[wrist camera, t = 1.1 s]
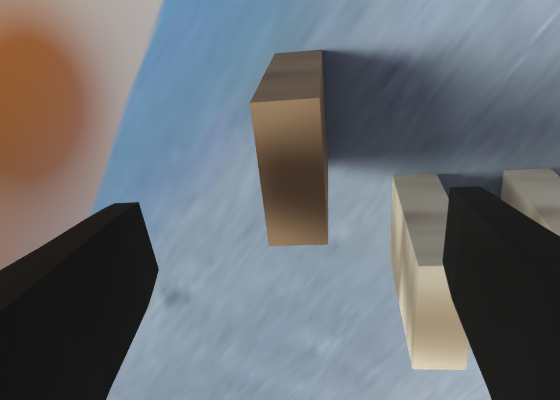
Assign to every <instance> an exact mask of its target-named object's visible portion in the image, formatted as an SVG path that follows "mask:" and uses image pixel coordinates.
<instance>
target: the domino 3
mask: <svg viewBox="0 0 560 400" xmlns="http://www.w3.org/2000/svg"><path fill="white" fill-rule="evenodd" d="M500 199H501V200H503V201H504V202H506V203H507V204H509V205H511V206H512V207H514V208H515V209H517V210H518V211H520V212H521V213H523V214H525V215H526V216H528V217H529V218H531V219H532V220H534V221H536V222H537V223H539V224H541V225H542V226H544V227H545V228H547V229H549V230H550V231H552V232H554V233H555V234H557V235H559V236H560V177H559V176H558V175H557V174H556V173H555V172H554V171H553V170H552V169H551V168H540V169H519V170H504V175H503V181H502V187H501V194H500Z"/></svg>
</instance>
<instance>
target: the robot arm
mask: <svg viewBox="0 0 560 400" xmlns="http://www.w3.org/2000/svg"><path fill="white" fill-rule="evenodd" d="M442 262H443V266H444V271H445V275H446V279H447V283H448V287H449V291H450V294H451V298H452V301H453V304H454V306H455V309H456V312H457V314H458V317H459V319H460V322H461V324H462V327H463V329H464V332H465V334H466V336H467V339H468V341H469V344H470V346H471V349H472V351H473V354H474V356H475V358H476V361H477V363H478V366H479V368H480V371H481V373H482V376H483V378H484V380H485V383H486V385H487V388H488V390H489V393H490V396H491V399H492V400H560V236H559V235H557V234H555V233H554V232H552V231H550V230H549V229H547V228H545V227H544V226H542V225H541V224H539V223H537V222H536V221H534V220H532V219H531V218H529V217H528V216H526V215H525V214H523V213H521V212H520V211H518V210H517V209H515V208H514V207H512V206H511V205H509V204H507V203H506V202H504V201H503V200H501V199H500V198H498V197H496V196H495V195H493V194H492V193H490V192H488V191H487V190H485V189H483V188H481V187H479V186H478V187H457V188H450V193H449V203H448V212H447V222H446V231H445V241H444V250H443V260H442ZM158 270H159V269H158V265H157V262H156V259H155V255H154V252H153V249H152V245H151V242H150V239H149V235H148V232H147V228H146V225H145V222H144V218H143V215H142V212H141V208H140V205H139V202H135V203H115V204H112V205H110V206H108V207H106V208H104V209H102V210H100V211H99V212H97V213H95V214H93V215H92V216H90V217H88V218H87V219H85V220H83V221H82V222H80V223H79V224H77V225H76V226H74V227H72V228H70V229H69V230H67V231H66V232H64V233H62V234H61V235H59V236H58V237H56V238H54V239H53V240H51V241H50V242H48V243H47V244H45V245H43V246H41V247H40V248H38V249H36V250H35V251H33V252H31V253H29V254H28V255H26V256H24V257H22V258H21V259H19V260H17V261H16V262H14V263H12V264H10V265H9V266H7V267H5V268H3V269H2V270H0V400H106V398H107V396H108V393H109V391H110V389H111V386H112V384H113V382H114V380H115V378H116V375H117V373H118V371H119V369H120V367H121V365H122V362H123V360H124V358H125V356H126V354H127V352H128V349H129V347H130V345H131V343H132V341H133V339H134V337H135V334H136V332H137V330H138V328H139V326H140V323H141V321H142V319H143V317H144V314H145V312H146V310H147V307H148V305H149V302H150V299H151V295H152V292H153V289H154V285H155V282H156V278H157V274H158Z"/></svg>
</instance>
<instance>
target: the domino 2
mask: <svg viewBox="0 0 560 400" xmlns="http://www.w3.org/2000/svg"><path fill="white" fill-rule="evenodd" d="M448 203H449V198H448V196H447V194H446V192H445V190H444V188H443V186H442V184H441V182H440V180H439V178H438V176H437V174H436V173H435V174H414V175H393V180H392V223H391V265H392V270H393V275H394V280H395V285H396V290H397V295H398V300H399V305H400V310H401V315H402V320H403V325H404V330H405V335H406V340H407V345H408V350H409V355H410V360H411V365H412V369H456V370H466V365H467V358H468V351H469V341H468V339H467V336H466V334H465V332H464V329H463V327H462V324H461V322H460V319H459V317H458V314H457V312H456V309H455V306H454V304H453V301H452V298H451V294H450V291H449V287H448V283H447V279H446V275H445V271H444V266H443V262H442V260H443V250H444V241H445V231H446V222H447V212H448Z"/></svg>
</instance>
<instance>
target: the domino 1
mask: <svg viewBox="0 0 560 400" xmlns="http://www.w3.org/2000/svg"><path fill="white" fill-rule="evenodd" d="M250 107H251V115H252V122H253V130H254V137H255V145H256V152H257V159H258V167H259V174H260V182H261V189H262V197H263V204H264V212H265V219H266V227H267V234H268V242H269V246H289V245H323V244H328V153H327V134H326V114H325V95H324V76H323V57H322V50H314V51H302V52H290V53H278V54H274V56H273V58H272V60H271V62H270V64H269V66H268V68H267V70H266V72H265V74H264V76H263V78H262V80H261V82H260V84H259V86H258V88H257V90H256V92H255V94H254V96H253V98H252V100H251V102H250Z"/></svg>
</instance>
